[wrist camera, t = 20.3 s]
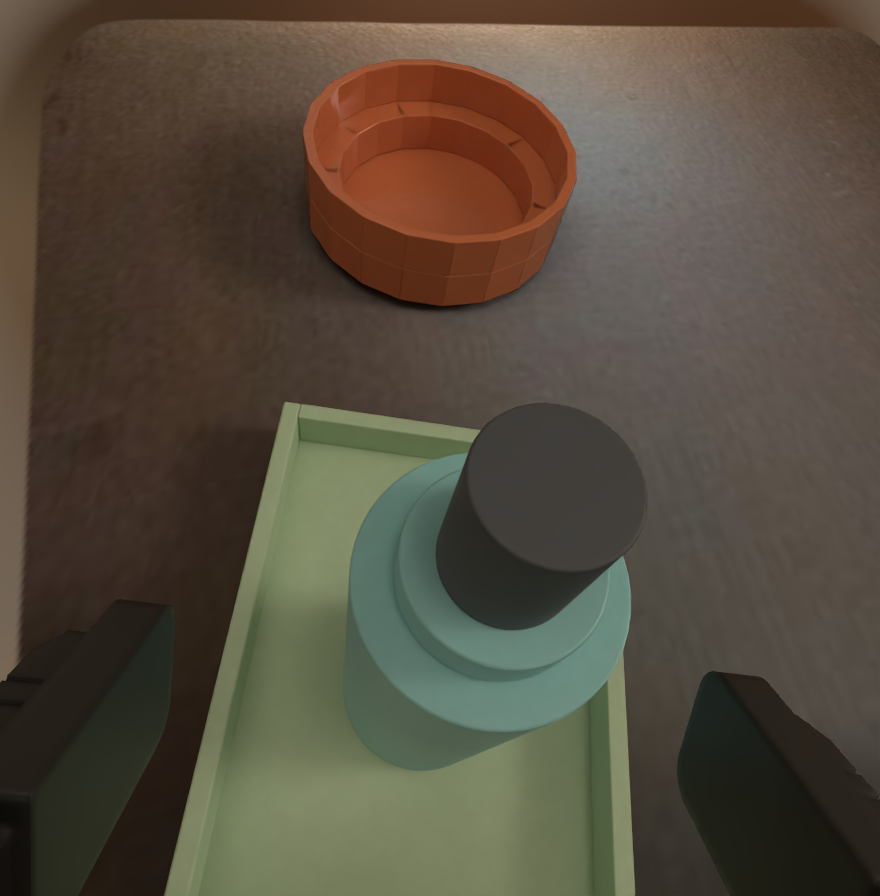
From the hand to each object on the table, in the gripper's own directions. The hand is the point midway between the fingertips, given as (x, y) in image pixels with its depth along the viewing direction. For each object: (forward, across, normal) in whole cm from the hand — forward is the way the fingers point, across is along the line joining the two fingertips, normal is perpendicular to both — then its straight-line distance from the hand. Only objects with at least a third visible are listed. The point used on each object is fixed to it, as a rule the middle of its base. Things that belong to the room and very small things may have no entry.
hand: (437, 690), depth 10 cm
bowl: (+32, +1, -9) cm, 33 cm away
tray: (+14, -1, +10) cm, 17 cm away
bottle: (+13, -1, +9) cm, 16 cm away
